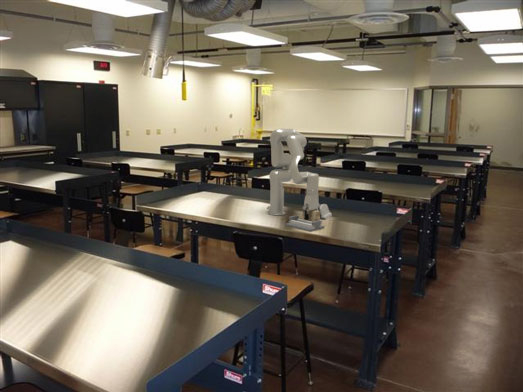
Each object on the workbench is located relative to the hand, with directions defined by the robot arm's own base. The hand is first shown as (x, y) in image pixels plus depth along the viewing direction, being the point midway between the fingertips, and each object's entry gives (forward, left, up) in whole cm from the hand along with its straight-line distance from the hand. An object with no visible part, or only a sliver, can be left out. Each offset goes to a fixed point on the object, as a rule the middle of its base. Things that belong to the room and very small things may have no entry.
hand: (311, 218), depth 293 cm
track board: (+3, -10, -3) cm, 11 cm away
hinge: (-6, +22, -4) cm, 23 cm away
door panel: (0, 0, -3) cm, 3 cm away
